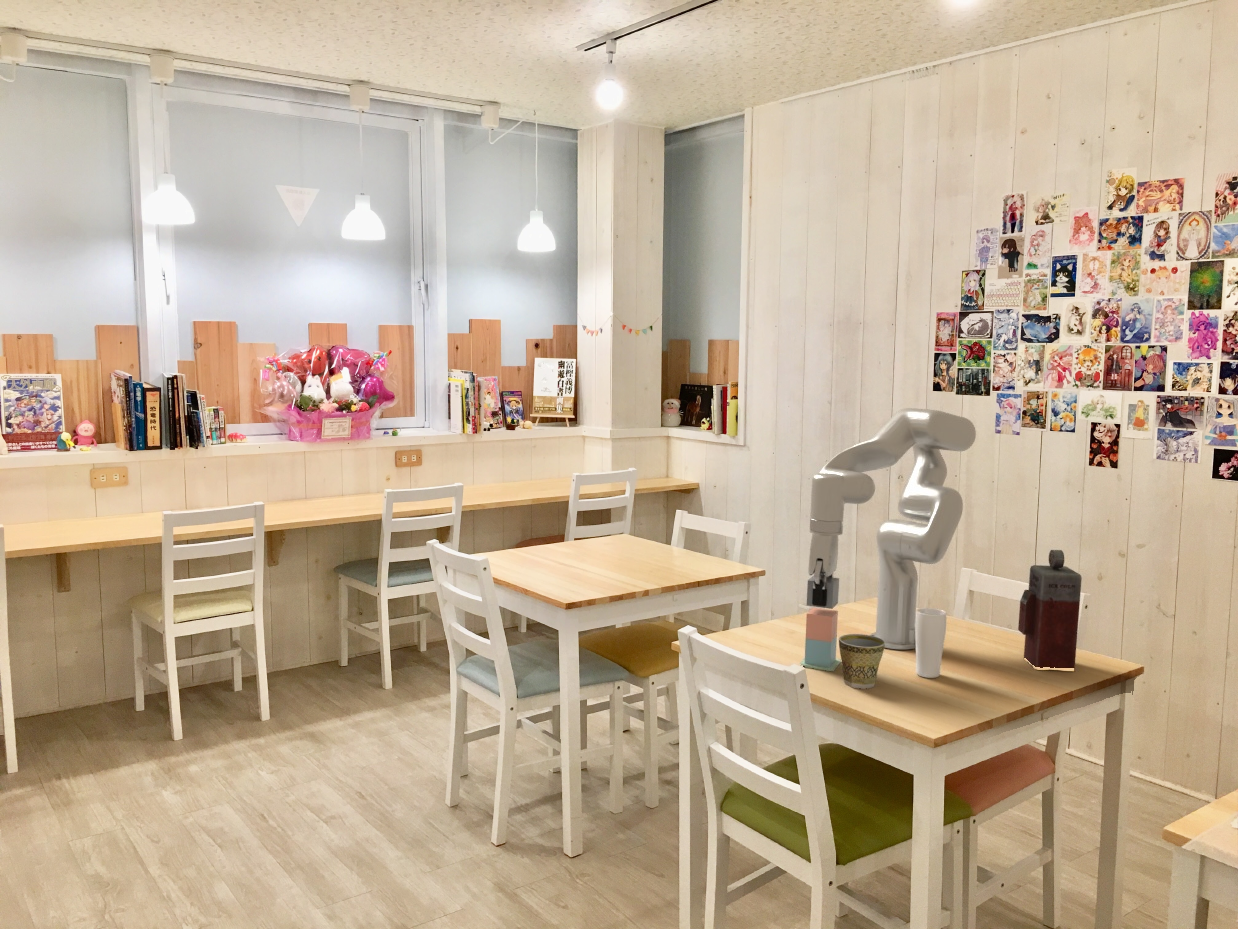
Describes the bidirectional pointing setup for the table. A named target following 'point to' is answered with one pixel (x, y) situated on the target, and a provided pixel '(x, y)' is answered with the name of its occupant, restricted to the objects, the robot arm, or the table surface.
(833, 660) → the teal base brick
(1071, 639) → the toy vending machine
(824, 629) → the coral brick
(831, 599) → the charcoal brick
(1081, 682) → the table surface
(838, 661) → the green baseplate
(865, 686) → the ceramic cup
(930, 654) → the drinking glass
